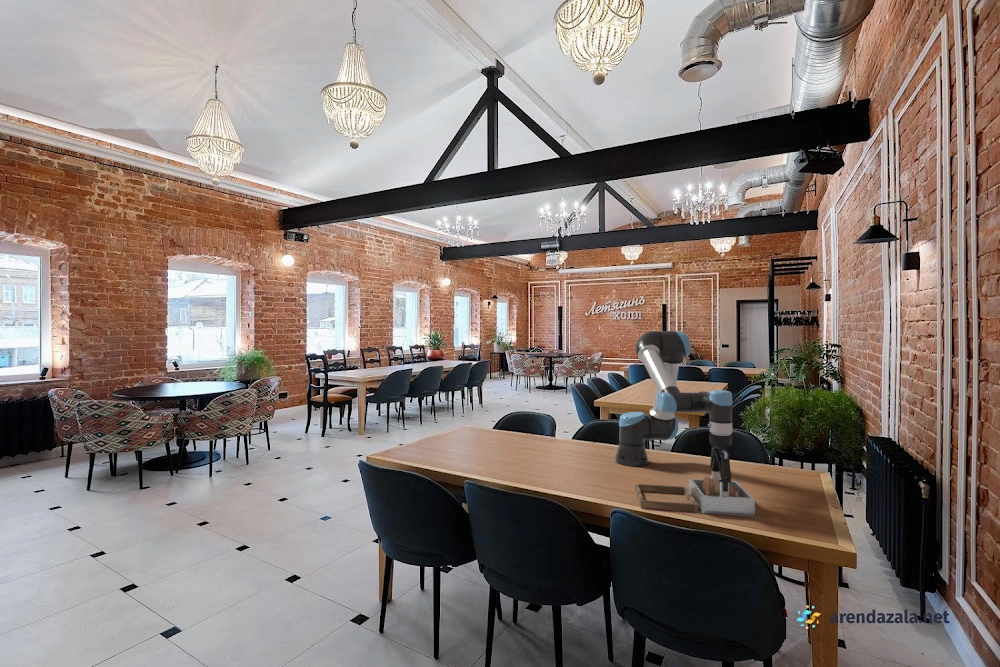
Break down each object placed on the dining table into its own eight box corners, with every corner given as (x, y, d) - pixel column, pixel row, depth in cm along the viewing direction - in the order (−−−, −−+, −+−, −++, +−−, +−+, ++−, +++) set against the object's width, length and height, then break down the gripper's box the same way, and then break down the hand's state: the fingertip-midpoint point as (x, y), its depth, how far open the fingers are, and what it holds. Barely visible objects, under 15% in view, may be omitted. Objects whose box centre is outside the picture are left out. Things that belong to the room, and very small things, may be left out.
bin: (689, 494, 181) (689, 478, 181) (736, 497, 178) (736, 481, 178) (701, 513, 162) (701, 495, 162) (754, 516, 159) (754, 499, 159)
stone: (711, 502, 175) (733, 486, 174) (724, 516, 165) (748, 500, 164) (694, 481, 174) (716, 465, 174) (707, 494, 164) (730, 477, 163)
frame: (635, 490, 185) (635, 483, 185) (686, 493, 182) (686, 486, 182) (641, 508, 166) (641, 501, 166) (697, 511, 163) (697, 504, 163)
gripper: (701, 426, 181) (701, 483, 182) (718, 440, 159) (717, 505, 159) (722, 427, 180) (721, 484, 180) (742, 441, 158) (741, 507, 158)
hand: (719, 494), depth 170 cm, fingers closed on stone, 10 cm apart
